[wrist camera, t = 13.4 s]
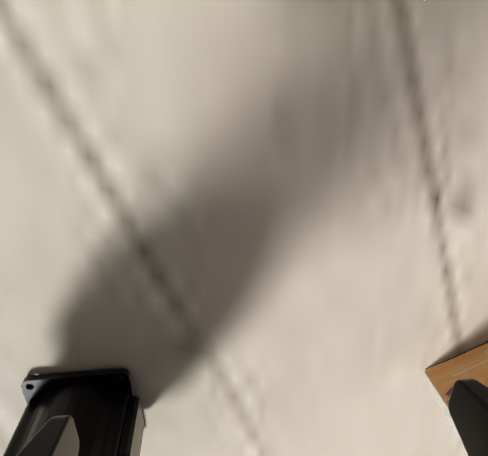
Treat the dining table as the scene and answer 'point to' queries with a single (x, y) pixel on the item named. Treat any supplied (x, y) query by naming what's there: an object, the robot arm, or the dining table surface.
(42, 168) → the dining table surface
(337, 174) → the dining table surface
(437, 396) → the small box
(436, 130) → the dining table surface
